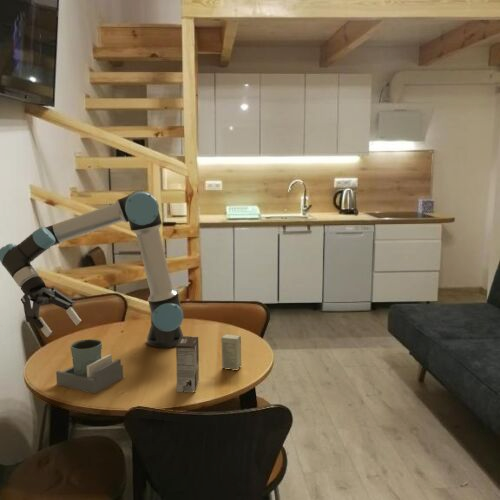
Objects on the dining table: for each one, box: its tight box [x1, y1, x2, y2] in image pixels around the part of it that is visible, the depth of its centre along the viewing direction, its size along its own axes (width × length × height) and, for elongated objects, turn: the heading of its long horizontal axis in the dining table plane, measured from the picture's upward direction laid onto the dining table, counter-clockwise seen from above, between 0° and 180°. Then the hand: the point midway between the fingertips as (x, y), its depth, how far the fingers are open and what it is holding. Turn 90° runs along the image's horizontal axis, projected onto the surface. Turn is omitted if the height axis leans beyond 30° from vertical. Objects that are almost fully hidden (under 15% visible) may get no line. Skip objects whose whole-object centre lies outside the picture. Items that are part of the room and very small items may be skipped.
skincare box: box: [221, 333, 242, 369], centre depth 177 cm, size 6×4×12 cm
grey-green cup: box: [70, 338, 103, 377], centre depth 165 cm, size 10×10×12 cm
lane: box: [55, 358, 124, 395], centre depth 165 cm, size 16×14×7 cm
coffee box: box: [175, 335, 200, 393], centre depth 161 cm, size 9×6×16 cm
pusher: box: [87, 353, 113, 379], centre depth 163 cm, size 1×11×7 cm, turn 156°
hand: (64, 328), depth 167 cm, fingers open, 13 cm apart
